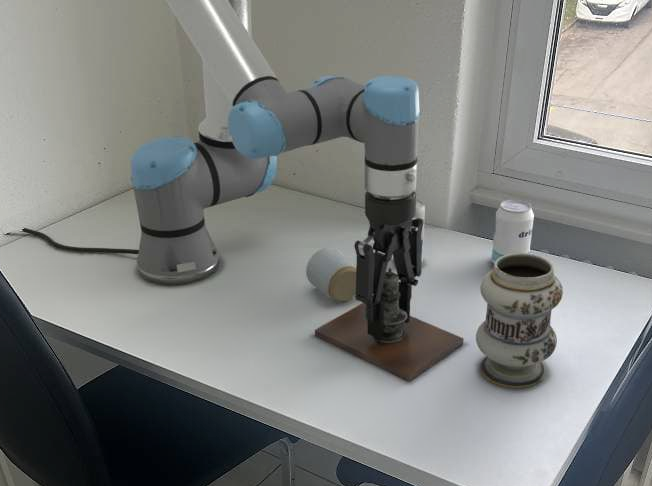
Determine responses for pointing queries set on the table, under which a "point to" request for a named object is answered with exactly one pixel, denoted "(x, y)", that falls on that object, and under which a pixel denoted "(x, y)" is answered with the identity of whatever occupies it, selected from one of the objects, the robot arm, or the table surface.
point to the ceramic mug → (332, 274)
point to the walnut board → (397, 358)
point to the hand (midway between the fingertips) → (388, 327)
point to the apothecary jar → (518, 319)
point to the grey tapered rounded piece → (392, 309)
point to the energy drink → (421, 214)
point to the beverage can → (512, 229)
